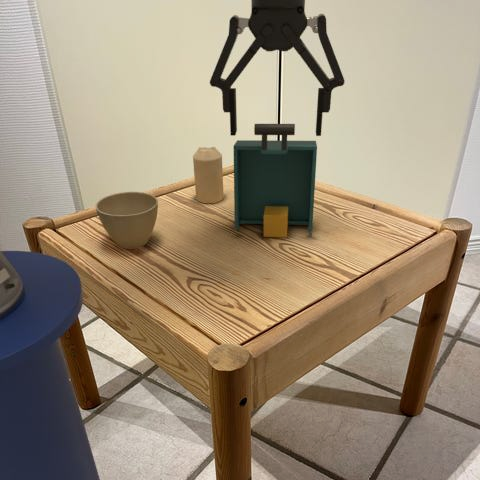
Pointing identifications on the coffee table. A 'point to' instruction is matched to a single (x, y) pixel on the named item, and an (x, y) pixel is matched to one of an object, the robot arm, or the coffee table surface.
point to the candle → (208, 175)
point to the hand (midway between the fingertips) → (275, 133)
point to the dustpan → (274, 176)
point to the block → (275, 221)
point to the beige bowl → (128, 217)
